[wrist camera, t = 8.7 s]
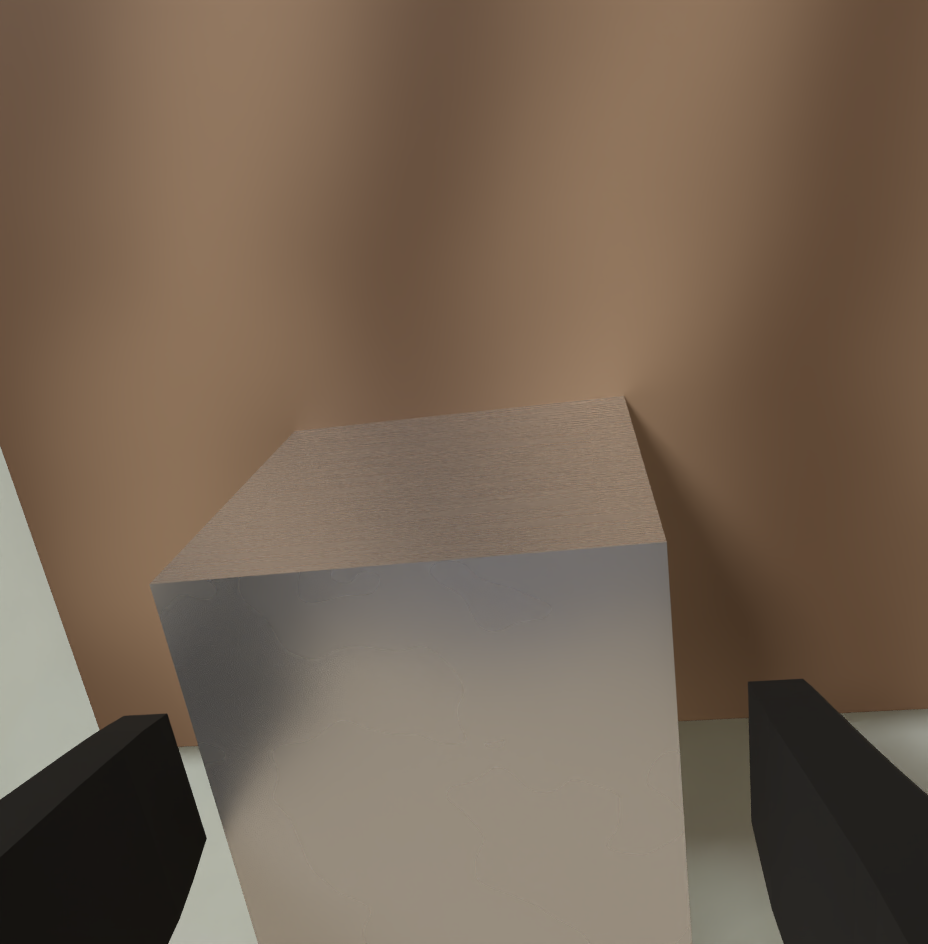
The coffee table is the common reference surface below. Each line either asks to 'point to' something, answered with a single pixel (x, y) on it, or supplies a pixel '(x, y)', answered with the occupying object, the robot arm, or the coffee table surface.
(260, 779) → the brushed aluminum cube
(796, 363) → the walnut board
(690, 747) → the coffee table surface
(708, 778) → the coffee table surface
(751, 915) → the coffee table surface
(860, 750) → the robot arm
